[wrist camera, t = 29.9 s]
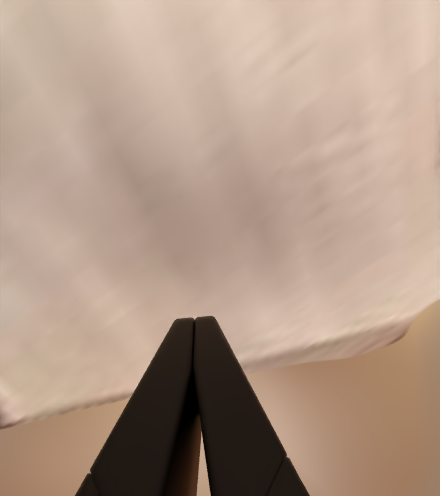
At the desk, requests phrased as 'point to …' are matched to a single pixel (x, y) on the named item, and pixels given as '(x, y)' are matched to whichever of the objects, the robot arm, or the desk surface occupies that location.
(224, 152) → the desk surface
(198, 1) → the desk surface
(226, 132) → the desk surface
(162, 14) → the desk surface
